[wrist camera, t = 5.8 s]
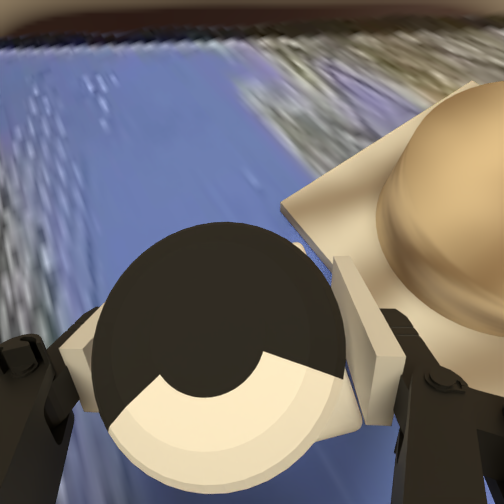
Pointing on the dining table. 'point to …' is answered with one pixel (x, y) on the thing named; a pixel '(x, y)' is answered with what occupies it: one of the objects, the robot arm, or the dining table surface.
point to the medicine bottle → (221, 359)
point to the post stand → (426, 227)
